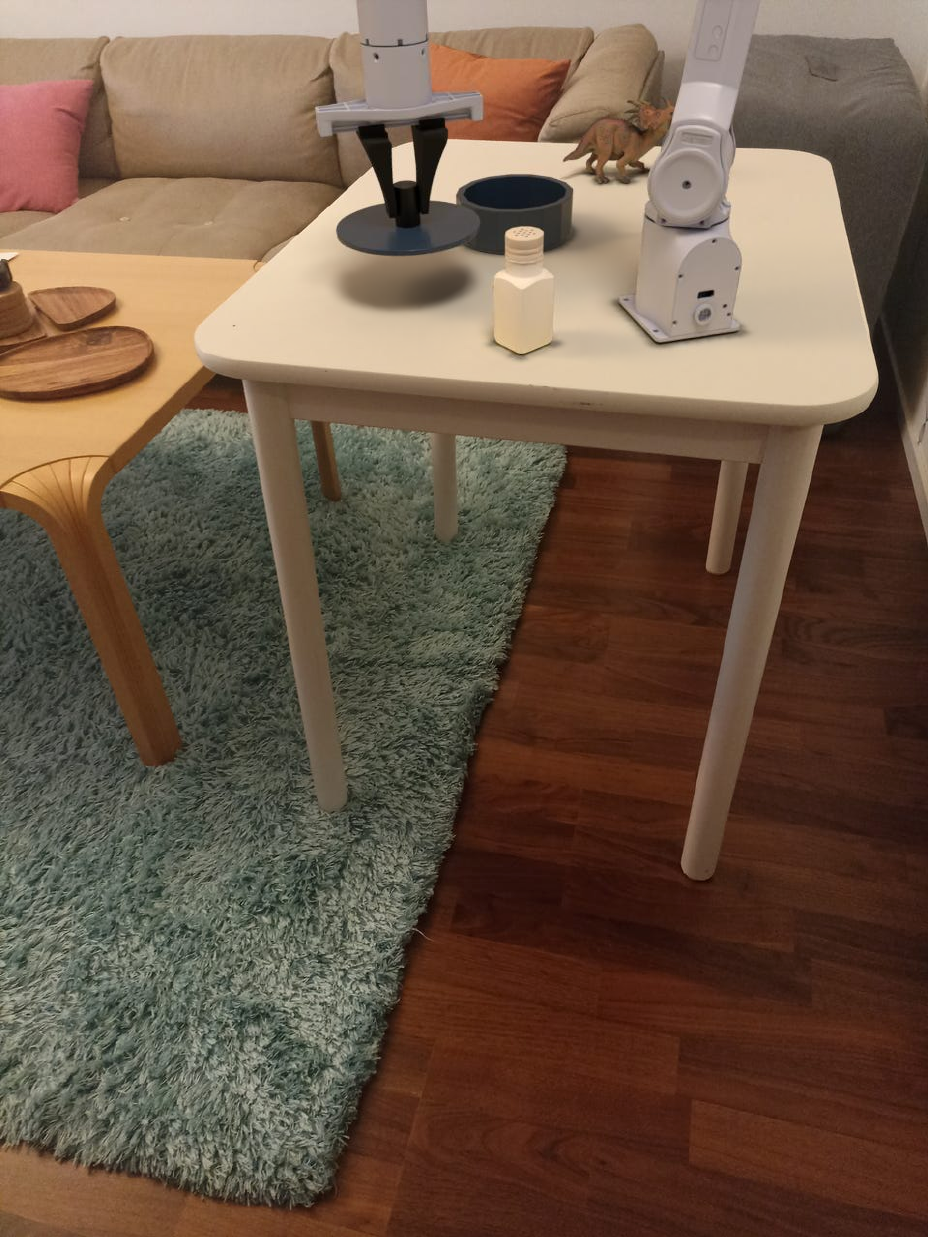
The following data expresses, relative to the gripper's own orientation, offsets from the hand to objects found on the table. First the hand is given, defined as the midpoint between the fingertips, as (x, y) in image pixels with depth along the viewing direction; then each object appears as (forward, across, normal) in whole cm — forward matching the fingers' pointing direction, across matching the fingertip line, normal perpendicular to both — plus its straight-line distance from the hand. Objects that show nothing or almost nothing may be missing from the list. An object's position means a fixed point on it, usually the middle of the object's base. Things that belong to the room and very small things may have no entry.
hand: (407, 212), depth 80 cm
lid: (+2, 0, 0) cm, 2 cm away
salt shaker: (+8, -7, +14) cm, 18 cm away
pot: (+8, -14, -12) cm, 20 cm away
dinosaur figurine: (+8, -32, -27) cm, 43 cm away
